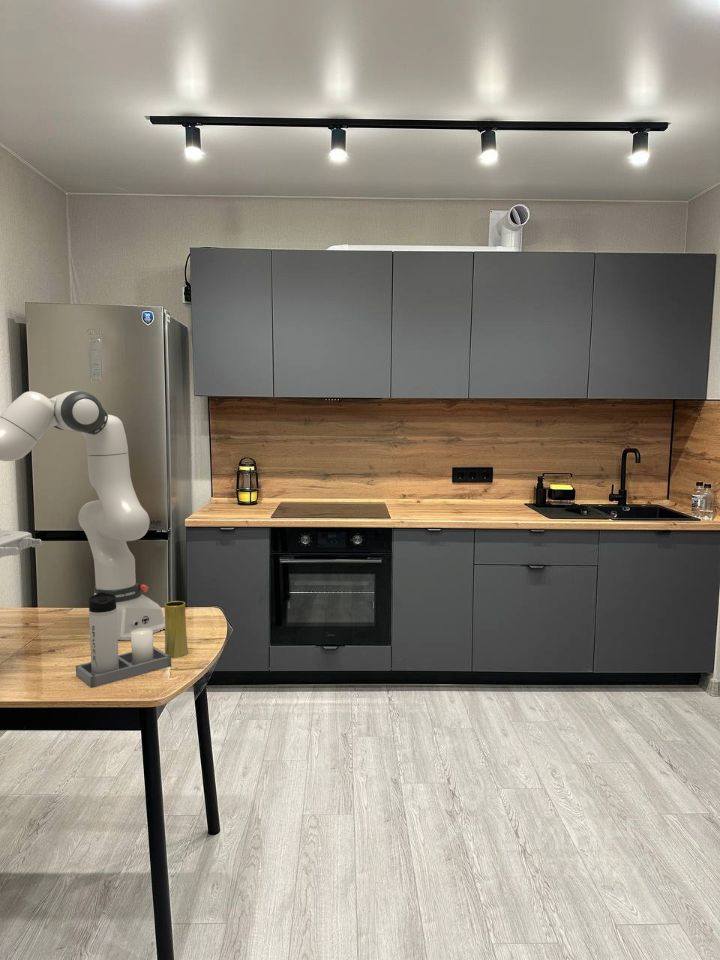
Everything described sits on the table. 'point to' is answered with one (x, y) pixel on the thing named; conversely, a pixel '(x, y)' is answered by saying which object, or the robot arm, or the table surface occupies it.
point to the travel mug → (103, 633)
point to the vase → (175, 629)
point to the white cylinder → (142, 645)
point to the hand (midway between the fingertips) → (30, 547)
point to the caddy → (123, 669)
